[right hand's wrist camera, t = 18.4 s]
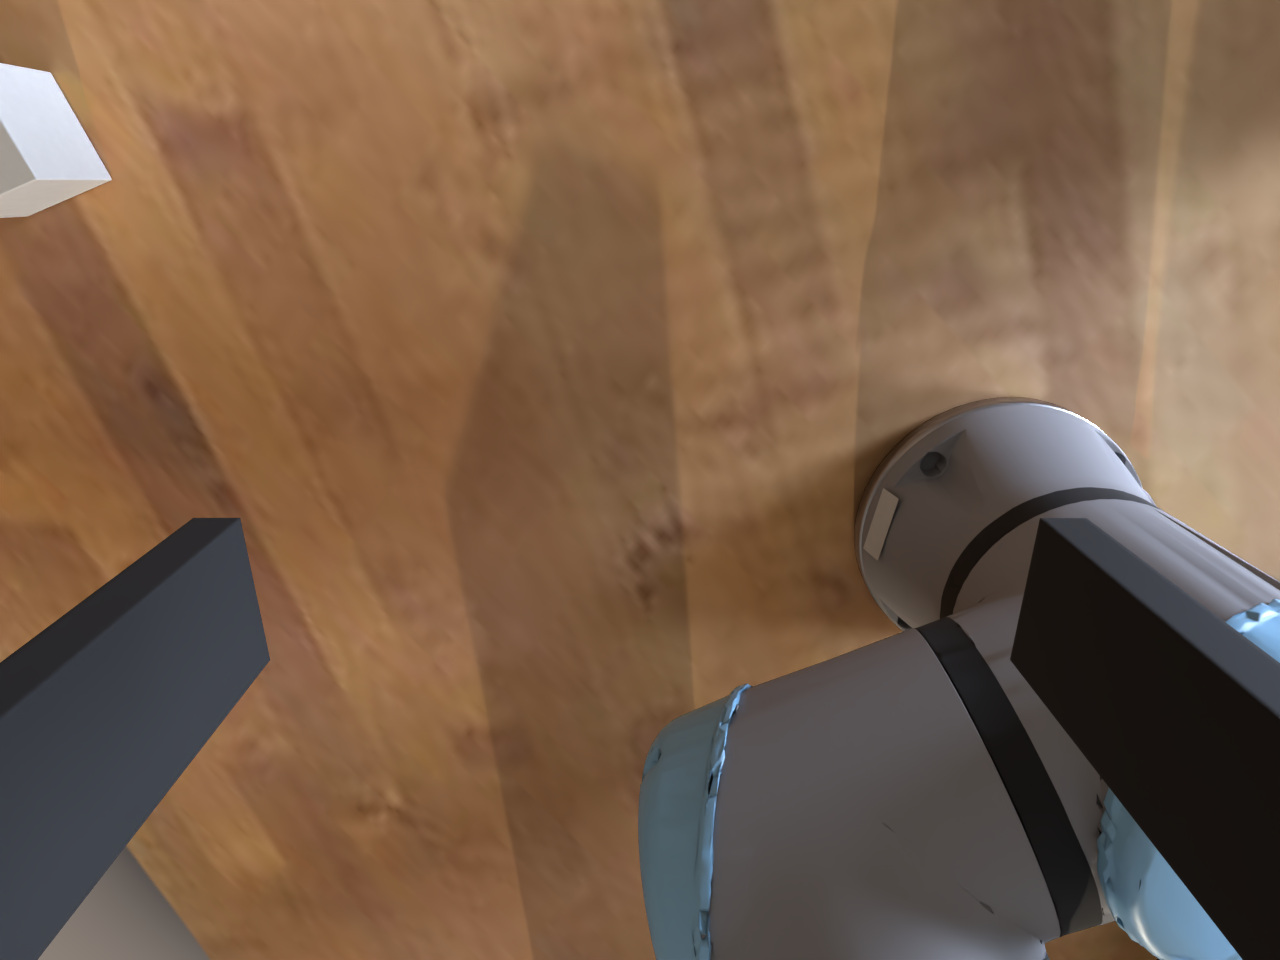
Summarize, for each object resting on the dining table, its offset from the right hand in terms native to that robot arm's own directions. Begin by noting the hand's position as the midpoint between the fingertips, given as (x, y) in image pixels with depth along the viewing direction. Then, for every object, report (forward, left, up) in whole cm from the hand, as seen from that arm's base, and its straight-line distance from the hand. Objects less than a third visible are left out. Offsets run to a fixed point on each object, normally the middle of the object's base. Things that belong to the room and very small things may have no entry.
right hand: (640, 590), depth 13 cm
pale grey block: (+29, -8, -29) cm, 42 cm away
